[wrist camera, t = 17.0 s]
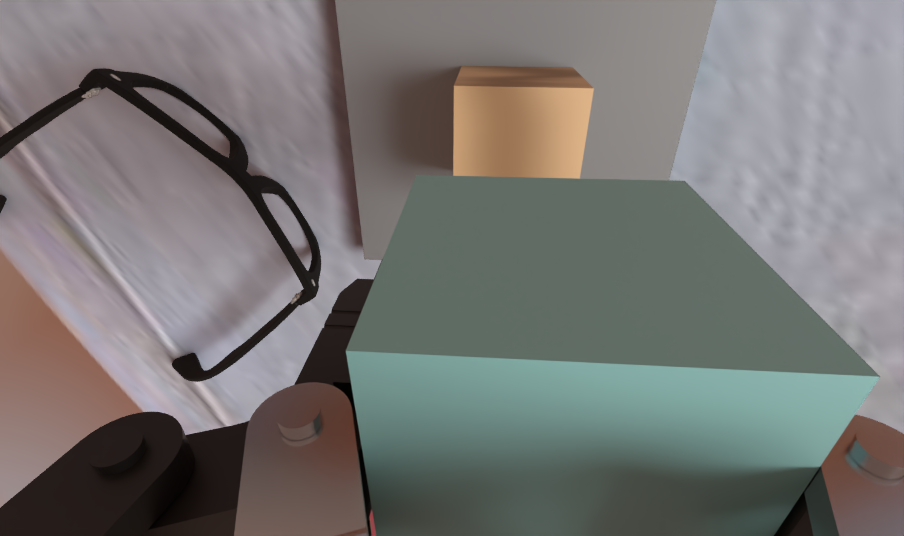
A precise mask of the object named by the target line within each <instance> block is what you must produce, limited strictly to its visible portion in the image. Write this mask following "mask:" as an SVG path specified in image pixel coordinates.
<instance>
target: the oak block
mask: <svg viewBox="0 0 904 536" xmlns="http://www.w3.org/2000/svg"><path fill="white" fill-rule="evenodd" d="M593 91H594V88H593V87H592V86H591V85H590V84H589V83H588V82H587V81H586V80H585V79H584V78H583V77H582V76H581V75H580V74H579V73H578V72H577V71H576V70H575V69H574V68H572V67H506V66H461V69H460V72H459V74H458V77H457V79H456V82H455V84H454V148H453V176H488V177H533V178H577V179H580V174H581V168H582V161H583V155H584V149H585V142H586V136H587V130H588V123H589V117H590V110H591V104H592V98H593Z"/></svg>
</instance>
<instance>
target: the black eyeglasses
mask: <svg viewBox="0 0 904 536" xmlns="http://www.w3.org/2000/svg"><path fill="white" fill-rule="evenodd" d="M79 87H80V88H78V89H76V90H74V91H72V92H70V93H69V94H67V95H65V96H63V97H61V98H60V99H58V100H56V101H55V102H53V103H51V104H50V105H48V106H46V107H45V108H43V109H42V110H40V111H38V112H37V113H35V114H34V115H33V116H31V117H30V118H28V119H27V120H25V121H24V122H23V123H21V124H20V125H18V126H17V127H15V128H14V129H12V130H11V131H9V132H8V133H6V134H5V135H3V136H2V137H0V158H2V157H3V156H5V155H6V154H7V153H8V152H9V151H10V150H11V149H13V148H14V147H15V146H16V145H17V144H19V143H20V142H21V141H23V140H24V139H25V138H27V137H28V136H30V135H31V134H33V133H34V132H36V131H37V130H39V129H40V128H42V127H43V126H45V125H46V124H48V123H49V122H50V121H52V120H53V119H55V118H56V117H57V116H59V115H60V114H62V113H63V112H65V111H66V110H68V109H70V108H71V107H73V106H74V105H76V104H77V103H79V102H81V101H82V100H84V99H86V98H88V97H89V98H91V97H92V96H96V95H98V92H100V90H102V89H104V88H105V87H107V88H109V89H110V90H112V91H113V92H115V93H116V94H118V95H119V96H121V97H123V98H124V99H126V100H127V101H128V102H130V103H131V104H133V105H134V106H136V107H137V108H139V109H140V110H142V111H143V112H144V113H146V114H147V115H149V116H150V117H151V118H153V119H154V120H156V121H157V122H158V123H160V124H161V125H163V126H164V127H165V128H167V129H168V130H169V131H171V132H172V133H174V134H175V135H176V136H178V137H179V138H180V139H182V140H183V141H184V142H186V143H187V144H189V145H190V146H191V147H193V148H194V149H195V150H197V151H198V152H200V153H201V154H202V155H204V156H205V157H206V158H208V159H209V160H210V161H212V162H213V163H214V164H216V165H217V166H218V167H220V168H221V169H222V170H223V171H225V172H226V173H227V174H228V175H229V176H230V177H231V178H233V179H234V181H235V182H236V183H237V184H238V185H239V186H240V187H241V188H242V189H243V191H244V192H245V193H246V195H247V196H248V197H249V199H250V200H251V202H252V203H253V205H254V206H255V208H256V210H257V211H258V213H259V214H260V216H261V217H262V219H263V221H264V222H265V224H266V226H267V227H268V229H269V230H270V232H271V233H272V235H273V237H274V238H275V240H276V241H277V243H278V245H279V246H280V248H281V249H282V251H283V253H284V254H285V256H286V258H287V259H288V261H289V263H290V264H291V266H292V268H293V269H294V271H295V273H296V275H297V276H298V278H299V280H300V282H301V284H302V286H303V288H304V289H303V290H302V291H301V292H300V293H298V294H295V297H294V298H292V299H293V300H291V302H290V303H289V304H288V305H287V306H286V307H285V308H284V309H283V310H281V311H280V312H279V313H278V314H277V315H276V316H275V317H274V318H273V319H271V320H270V321H269V322H268V323H267V324H265V325H264V326H263V327H262V328H261V329H260V330H259V331H258V332H256V333H255V334H254V335H253V336H252V337H251V338H250V339H248V340H247V341H246V342H245V343H243V344H242V345H241V346H239V347H238V348H236V349H235V350H234V351H232V352H231V353H230V354H229V355H228V356H227V357H225V358H224V359H223V360H222V361H221V362H219V363H218V364H217V365H216V366H214V367H213V368H211V369H209V370H207V371H204V370H203V369H202V367H201V365H200V362H199V360H198V358H197V356H196V354H195V353H191V354H188V355H185V356H182V357H180V358H177V359H175V360H174V361H173V363H172V366H173V368H174V369H175V370H176V371H177V372H178V373H179V374H180V375H181V376H182V377H183V378H184V379H186V380H188V381H195V382H198V381H204V380H207V379H210V378H212V377H214V376H216V375H218V374H219V373H221V372H222V371H224V370H225V369H227V368H228V367H230V366H231V365H232V364H234V363H235V362H236V361H238V360H239V359H240V358H241V357H243V356H244V355H245V354H246V353H248V352H249V351H250V350H251V349H252V348H253V347H254V346H255V345H257V344H258V343H259V342H260V341H261V340H262V339H263V338H265V337H266V336H267V335H268V334H269V333H270V332H272V331H273V330H274V329H275V328H276V327H277V326H278V325H279V324H280V323H281V322H282V321H284V320H285V319H286V318H287V317H288V316H289V315H290V314H291V313H292V312H293V311H294V310H295V309H296V307H297V306H298V305H302V304H304V303H306V302H308V301H310V300H311V299H313V298H314V297H316V294H317V292H318V288H319V284H318V281H319V276H320V271H321V256H320V250H319V246H318V242H317V240H316V237H315V235H314V233H313V232H312V230H311V228H310V226H309V224H308V223H307V221H306V219H305V218H304V216H303V215H302V213H301V212H300V210H299V208H298V207H297V205H296V204H295V202H294V201H293V199H292V198H291V196H290V195H289V194H288V192H287V191H286V190H285V188H284V187H283V186H281V185H280V184H279V183H277V182H276V181H274V180H272V179H270V178H268V177H265V176H250V174H249V173H248V172H247V171H246V170H247V167H248V155H247V152H246V149H245V147H244V145H243V143H242V141H241V140H240V138H239V137H238V136H237V135H236V134H235V133H234V132H233V131H232V130H231V129H230V128H229V127H227V126H226V125H225V124H224V123H223V122H222V121H221V120H220V119H218V118H217V117H216V116H215V115H213V114H212V113H211V112H210V111H209V110H207V109H206V108H205V107H204V106H202V105H201V104H200V103H199V102H197V101H196V100H195V99H193V98H192V97H191V96H189V95H188V94H187V93H185V92H184V91H182V90H181V89H179V88H177V87H176V86H174V85H172V84H169V83H167V82H165V81H163V80H160V79H157V78H155V77H151V76H148V75H144V74H139V73H132V72H120V71H114V70H111V69H93V70H92V71H91V72H90V73H89V74H88V75H86V77H85V78H84V79H83V81H82V82H81V83H80V85H79ZM133 87H150V88H155V89H159V90H162V91H164V92H166V93H168V94H170V95H172V96H174V97H176V98H178V99H179V100H181V101H183V102H184V103H186V104H187V105H189V106H190V107H192V108H193V109H194V110H196V111H197V112H199V113H200V114H201V115H203V116H204V117H205V118H206V119H208V120H209V121H210V122H211V123H212V124H214V125H215V126H216V127H217V128H218V129H219V130H220V131H221V132H222V133H223V134H224V135H225V136H226V137H227V139H228V140H229V141H230V154H229V158H227V157H225V156H223V155H222V154H220V153H218V152H217V151H215V150H214V149H212V148H211V147H209V146H208V145H207V144H205V143H204V142H203V141H201V140H200V139H199V138H198V137H196V136H195V135H194V134H192V133H191V132H190V131H188V130H187V129H186V128H184V127H183V126H182V125H181V124H179V123H178V122H176V121H175V120H174V119H172V118H171V117H170V116H168V115H167V114H166V113H164V112H163V111H162V110H160V109H159V108H158V107H156V106H155V105H154V104H152V103H151V102H149V101H148V100H147V99H145V98H144V97H143V96H142V95H140V94H139V93H138V92H137V91H135V90H134V88H133ZM261 193H270V194H276V195H279V196H280V197H281V198H282V199H283V200H284V201H285V202H286V204H287V205H288V206H289V207H290V209H291V210H292V212H293V213H294V215H295V216H296V218H297V220H298V221H299V223H300V225H301V227H302V228H303V230H304V233H305V235H306V237H307V239H308V242H309V244H310V248H311V253H312V260H311V265H310V268H309V271H307V270H306V268H305V267H304V265H303V264H302V262H301V261H300V259H299V257H298V256H297V254H296V252H295V251H294V249H293V247H292V246H291V244H290V243H289V241H288V239H287V238H286V236H285V235H284V233H283V231H282V230H281V228H280V227H279V225H278V224H277V222H276V220H275V219H274V217H273V216H272V214H271V212H270V211H269V209H268V207H267V205H266V203H265V201H264V200H263V197H262V194H261ZM5 202H6V197H4V196H2V195H0V213H1V211H2V209H3V207H4V205H5Z"/></svg>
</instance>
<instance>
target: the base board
mask: <svg viewBox="0 0 904 536" xmlns="http://www.w3.org/2000/svg"><path fill="white" fill-rule="evenodd" d="M715 4H716V0H335V5H336V14H337V23H338V31H339V40H340V49H341V58H342V67H343V76H344V84H345V93H346V102H347V111H348V120H349V129H350V137H351V146H352V155H353V164H354V173H355V182H356V190H357V199H358V208H359V217H360V226H361V235H362V243H363V252H364V259H370V260H382V259H383V257H384V255H385V252H386V250H387V247H388V245H389V242H390V240H391V237H392V235H393V232H394V230H395V227H396V225H397V222H398V220H399V217H400V215H401V212H402V210H403V207H404V205H405V202H406V200H407V197H408V195H409V192H410V190H411V187H412V185H413V183H414V180H415V178H416V175H444V176H453V148H454V84H455V82H456V79H457V77H458V74H459V72H460V69H461V66H506V67H572V68H574V69H575V70H576V71H577V72H578V73H579V74H580V75H581V76H582V77H583V78H584V79H585V80H586V81H587V82H588V83H589V84H590V85H591V86H592V87H593V88H594V91H593V98H592V104H591V110H590V117H589V123H588V130H587V136H586V142H585V149H584V155H583V161H582V168H581V174H580V179H621V180H666V181H669V178H670V174H671V170H672V166H673V163H674V159H675V155H676V151H677V147H678V144H679V140H680V136H681V132H682V128H683V125H684V121H685V117H686V113H687V110H688V106H689V102H690V98H691V94H692V91H693V87H694V83H695V79H696V75H697V72H698V68H699V64H700V60H701V57H702V53H703V49H704V45H705V41H706V38H707V34H708V30H709V26H710V22H711V19H712V15H713V11H714V7H715Z"/></svg>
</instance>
